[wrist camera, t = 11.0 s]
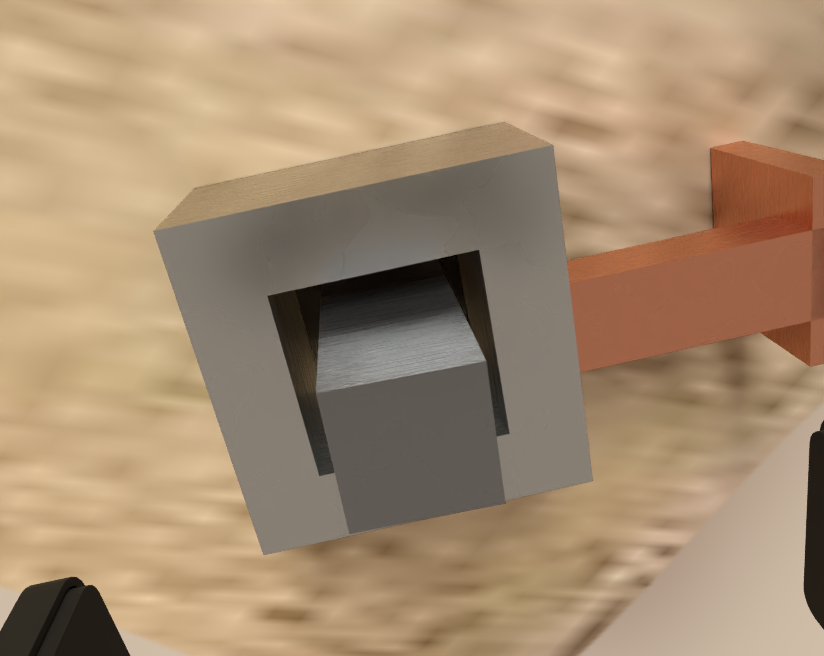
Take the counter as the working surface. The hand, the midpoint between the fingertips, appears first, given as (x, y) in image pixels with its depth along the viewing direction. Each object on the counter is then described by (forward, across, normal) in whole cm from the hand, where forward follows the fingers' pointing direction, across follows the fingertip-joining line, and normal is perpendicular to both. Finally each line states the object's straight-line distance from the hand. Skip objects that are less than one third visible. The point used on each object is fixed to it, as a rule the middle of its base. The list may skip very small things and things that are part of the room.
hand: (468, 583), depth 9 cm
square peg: (+14, +1, +1) cm, 14 cm away
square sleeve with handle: (+14, -3, +1) cm, 14 cm away
